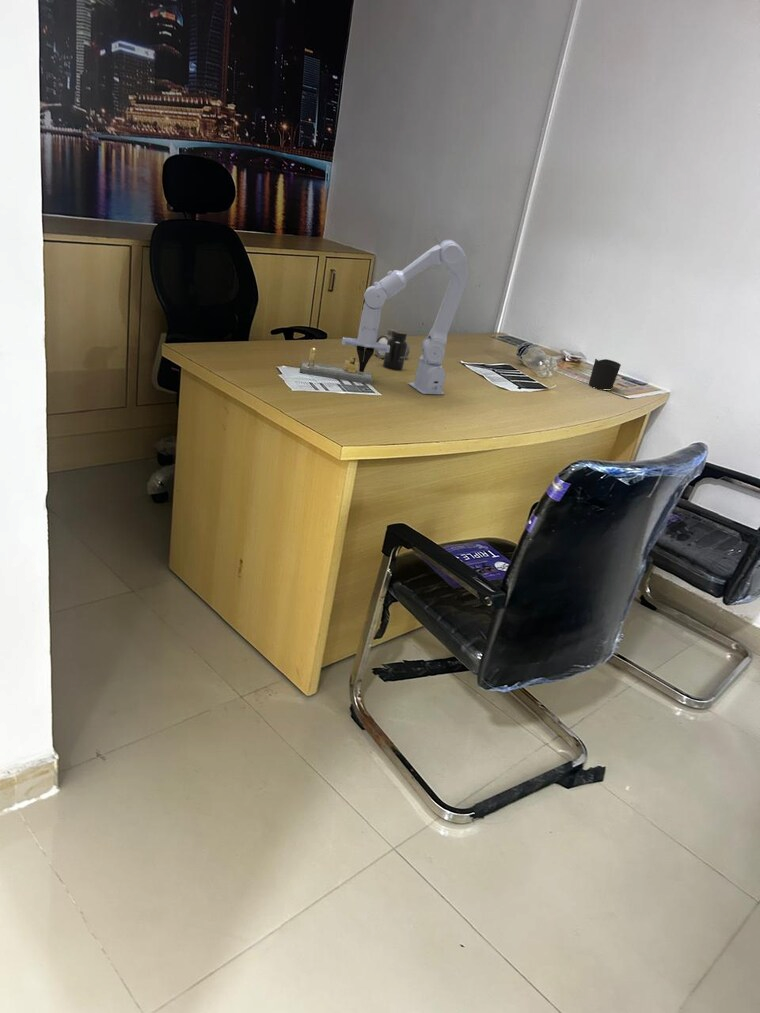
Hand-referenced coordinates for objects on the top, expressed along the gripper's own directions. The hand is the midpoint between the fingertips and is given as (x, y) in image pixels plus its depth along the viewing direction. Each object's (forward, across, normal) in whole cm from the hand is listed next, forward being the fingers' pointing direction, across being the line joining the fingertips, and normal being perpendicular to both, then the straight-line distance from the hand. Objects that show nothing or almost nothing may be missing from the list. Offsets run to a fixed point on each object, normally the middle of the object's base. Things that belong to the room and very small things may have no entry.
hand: (361, 371), depth 223 cm
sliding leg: (+1, -3, -1) cm, 3 cm away
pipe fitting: (+2, +12, +34) cm, 36 cm away
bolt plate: (+2, -8, 0) cm, 8 cm away
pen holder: (+2, +93, +42) cm, 102 cm away
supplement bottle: (+2, +12, +20) cm, 23 cm away
